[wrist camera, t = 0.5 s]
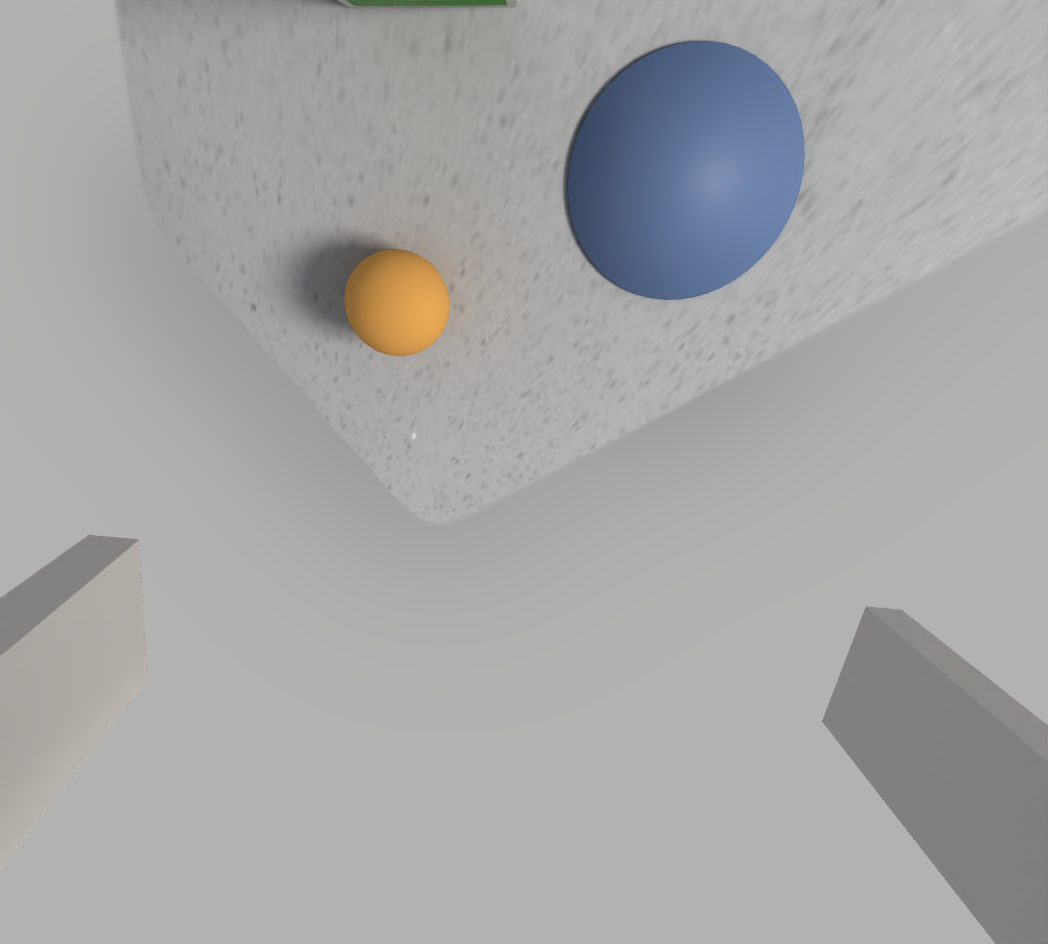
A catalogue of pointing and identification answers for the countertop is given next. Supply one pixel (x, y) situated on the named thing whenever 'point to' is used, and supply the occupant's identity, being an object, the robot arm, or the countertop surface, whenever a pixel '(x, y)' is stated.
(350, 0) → the skincare box
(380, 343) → the ball
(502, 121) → the countertop surface
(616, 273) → the mark
